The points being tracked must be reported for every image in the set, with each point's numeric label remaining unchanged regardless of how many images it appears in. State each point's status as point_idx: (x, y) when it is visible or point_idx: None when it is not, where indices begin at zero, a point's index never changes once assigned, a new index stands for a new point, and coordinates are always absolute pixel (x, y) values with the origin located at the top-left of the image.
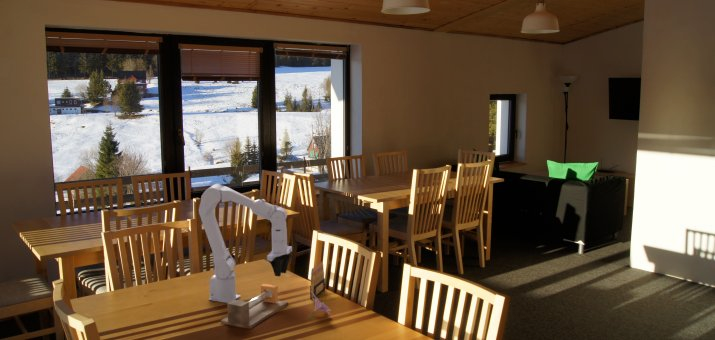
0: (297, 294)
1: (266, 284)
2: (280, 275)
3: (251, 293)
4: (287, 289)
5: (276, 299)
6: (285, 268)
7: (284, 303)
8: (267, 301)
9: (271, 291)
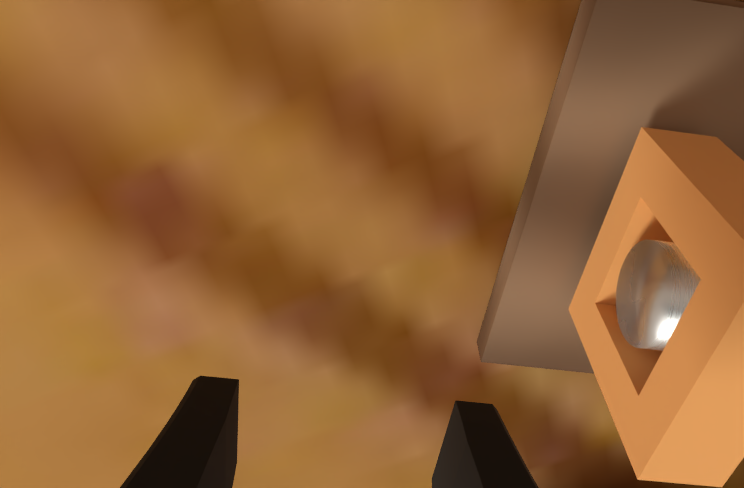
0: (141, 14)
1: (673, 441)
2: (457, 408)
3: (321, 465)
4: (45, 220)
5: (698, 149)
6: (207, 482)
7: (662, 14)
8: None
9: None
